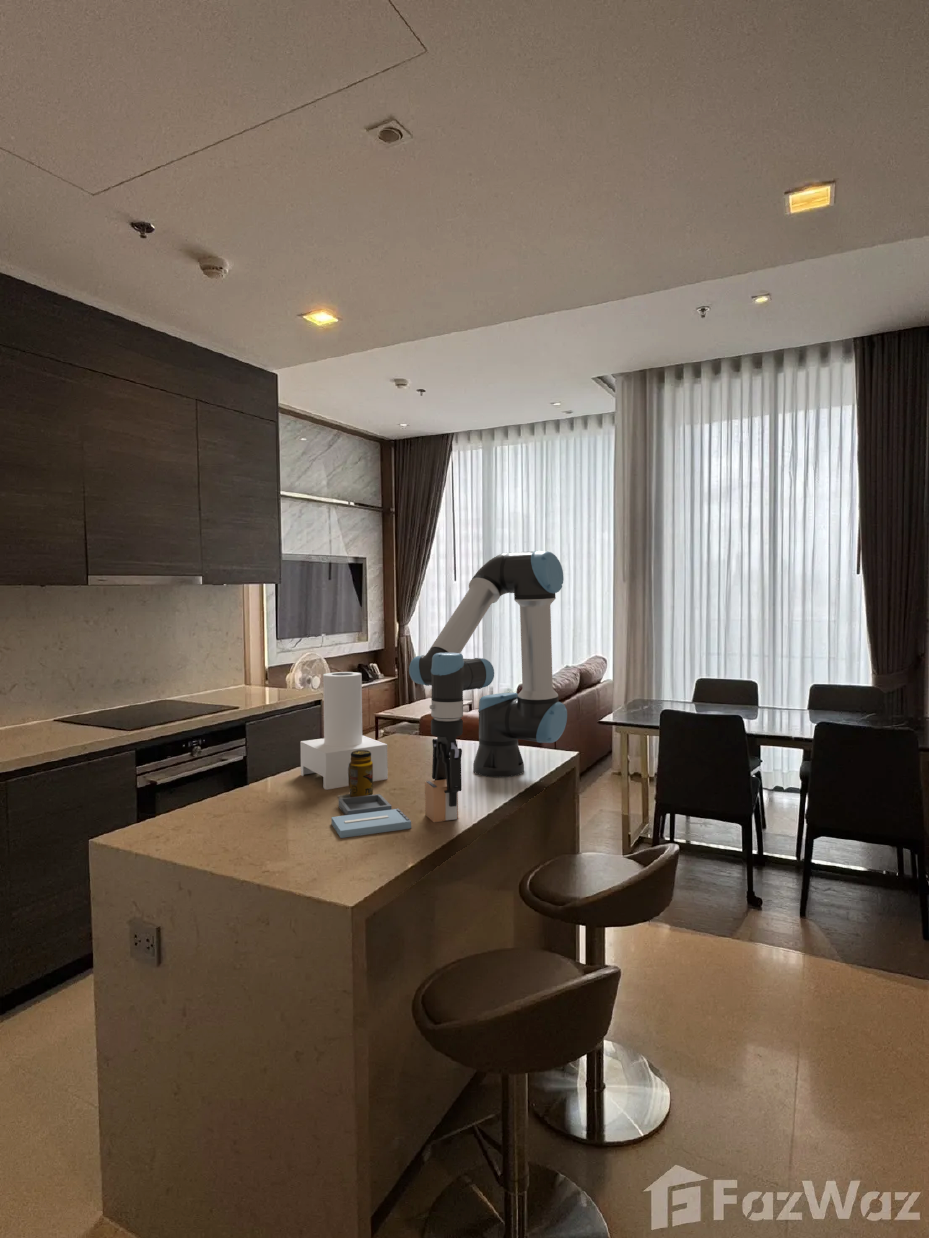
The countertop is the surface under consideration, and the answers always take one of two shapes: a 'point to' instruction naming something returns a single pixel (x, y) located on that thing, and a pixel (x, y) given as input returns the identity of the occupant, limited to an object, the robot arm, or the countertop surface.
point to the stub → (436, 800)
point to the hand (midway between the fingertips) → (446, 814)
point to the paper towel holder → (341, 734)
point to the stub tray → (363, 804)
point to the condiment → (360, 774)
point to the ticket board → (370, 823)
